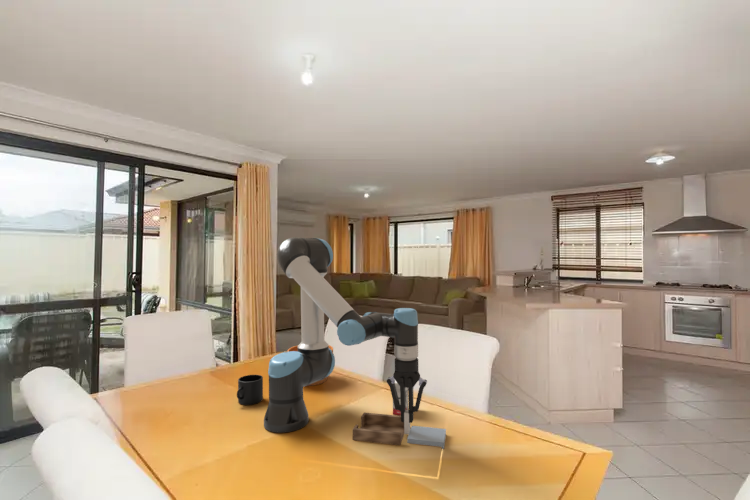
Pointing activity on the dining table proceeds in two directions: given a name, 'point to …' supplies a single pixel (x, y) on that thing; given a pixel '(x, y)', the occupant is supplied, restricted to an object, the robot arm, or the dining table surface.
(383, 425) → the box
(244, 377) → the mug
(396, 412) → the ink box
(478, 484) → the dining table surface
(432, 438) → the tile
